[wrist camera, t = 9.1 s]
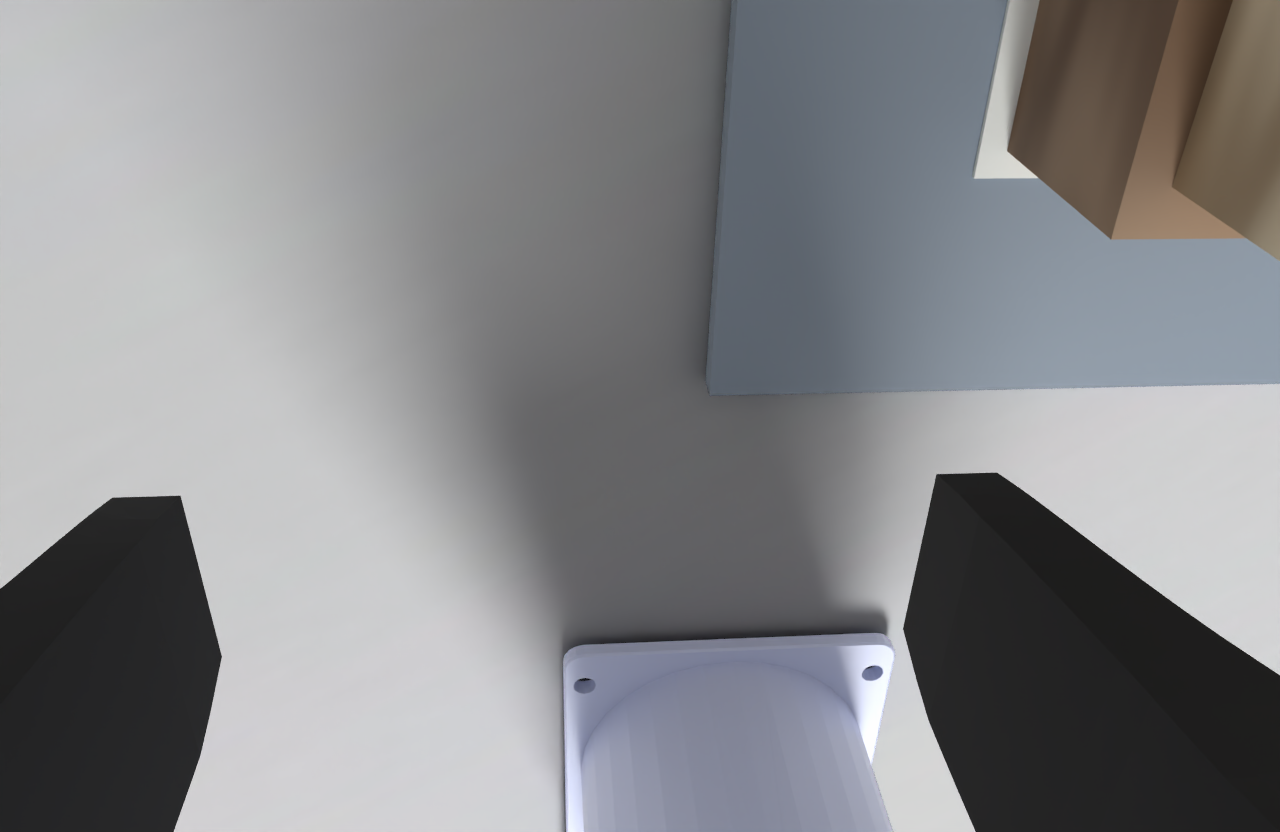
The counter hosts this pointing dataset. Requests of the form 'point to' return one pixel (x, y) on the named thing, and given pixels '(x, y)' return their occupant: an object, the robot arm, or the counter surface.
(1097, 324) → the board
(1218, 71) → the oak block
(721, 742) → the robot arm
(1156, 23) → the walnut block
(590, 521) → the counter surface
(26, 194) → the counter surface
